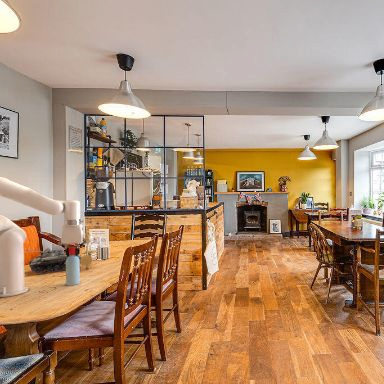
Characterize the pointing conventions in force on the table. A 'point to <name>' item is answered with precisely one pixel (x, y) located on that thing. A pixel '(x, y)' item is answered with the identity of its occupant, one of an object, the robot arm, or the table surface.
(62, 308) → the table surface
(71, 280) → the bottle
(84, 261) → the wall sconce
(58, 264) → the tank
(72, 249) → the cap
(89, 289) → the table surface
